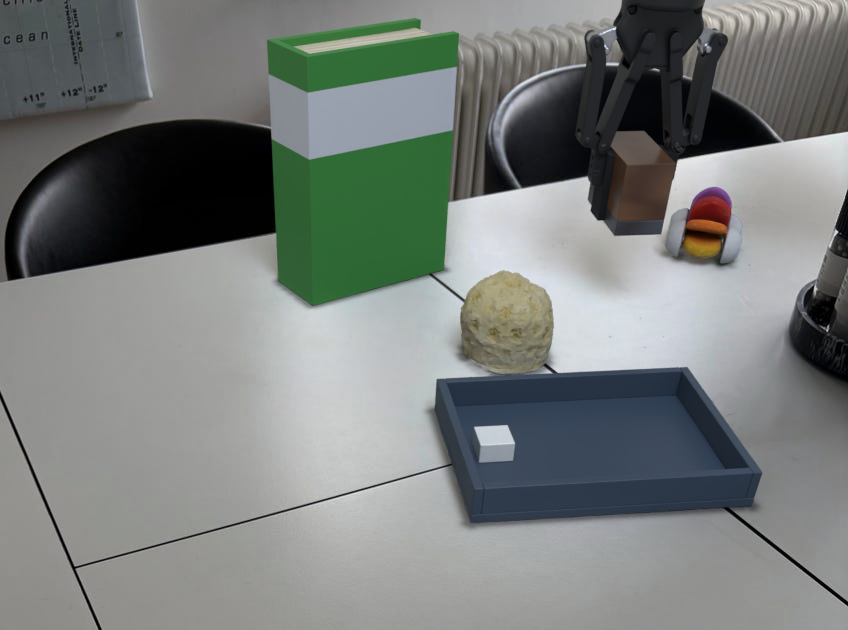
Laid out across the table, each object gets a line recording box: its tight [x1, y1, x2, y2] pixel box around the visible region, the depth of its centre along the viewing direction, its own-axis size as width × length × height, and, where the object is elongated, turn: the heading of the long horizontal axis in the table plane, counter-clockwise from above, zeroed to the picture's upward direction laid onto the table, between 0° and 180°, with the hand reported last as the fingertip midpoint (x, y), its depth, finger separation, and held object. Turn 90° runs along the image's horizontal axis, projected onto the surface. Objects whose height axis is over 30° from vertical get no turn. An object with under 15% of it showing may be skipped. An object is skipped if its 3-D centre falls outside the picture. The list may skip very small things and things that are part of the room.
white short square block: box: [472, 425, 515, 463], centre depth 89 cm, size 3×3×2 cm
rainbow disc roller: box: [664, 186, 744, 264], centre depth 122 cm, size 8×10×7 cm
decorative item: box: [459, 269, 555, 375], centre depth 102 cm, size 10×10×10 cm
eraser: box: [587, 130, 676, 237], centre depth 107 cm, size 5×10×7 cm, turn 7°
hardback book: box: [266, 17, 460, 307], centre depth 110 cm, size 18×7×24 cm, turn 124°
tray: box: [434, 366, 763, 524], centre depth 90 cm, size 24×18×3 cm
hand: (623, 214), depth 110 cm, fingers closed on eraser, 5 cm apart
